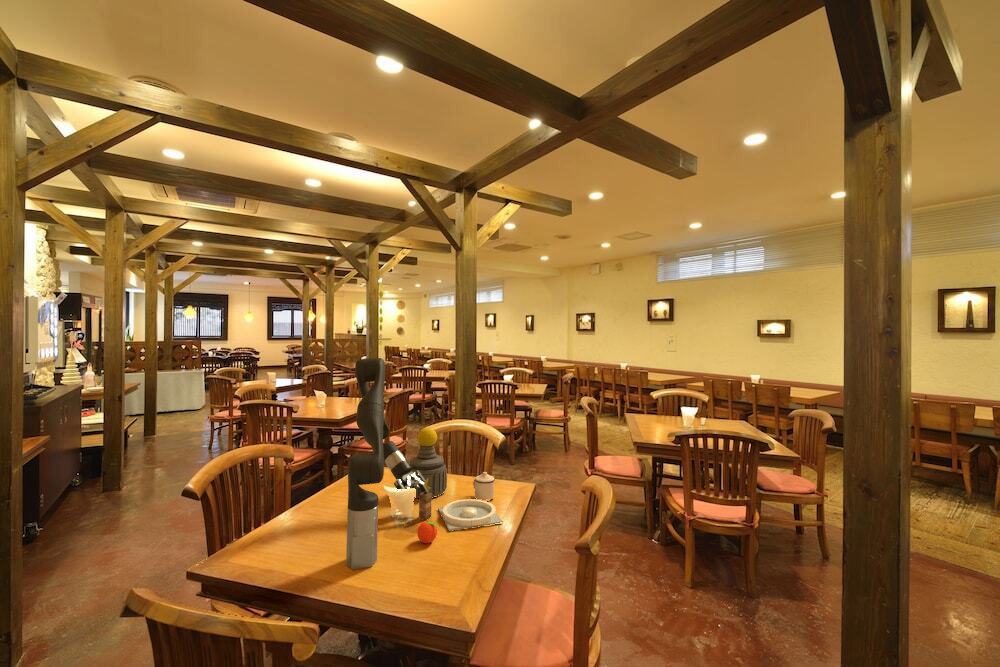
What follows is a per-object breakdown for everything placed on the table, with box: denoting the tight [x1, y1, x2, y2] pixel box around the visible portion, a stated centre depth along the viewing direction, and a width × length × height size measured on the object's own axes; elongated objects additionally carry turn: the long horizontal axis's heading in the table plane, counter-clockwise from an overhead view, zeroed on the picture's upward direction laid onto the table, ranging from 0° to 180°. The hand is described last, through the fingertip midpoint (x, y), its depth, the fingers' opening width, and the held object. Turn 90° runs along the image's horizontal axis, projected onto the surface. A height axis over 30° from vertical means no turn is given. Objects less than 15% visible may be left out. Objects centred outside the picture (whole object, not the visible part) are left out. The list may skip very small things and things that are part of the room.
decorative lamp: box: [409, 427, 448, 498], centre depth 187 cm, size 19×19×30 cm
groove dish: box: [437, 498, 504, 532], centre depth 161 cm, size 21×21×3 cm
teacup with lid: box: [472, 471, 495, 500], centre depth 182 cm, size 12×9×12 cm
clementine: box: [416, 520, 439, 544], centre depth 139 cm, size 8×7×7 cm
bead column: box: [418, 490, 433, 521], centre depth 159 cm, size 3×3×11 cm
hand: (420, 497), depth 160 cm, fingers open, 8 cm apart
